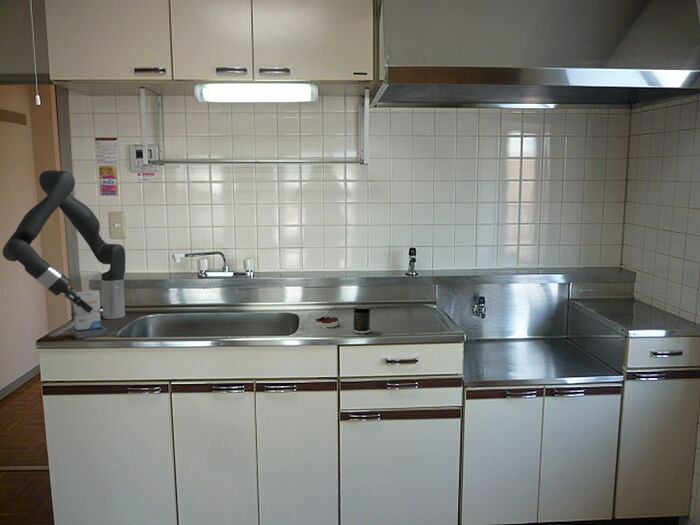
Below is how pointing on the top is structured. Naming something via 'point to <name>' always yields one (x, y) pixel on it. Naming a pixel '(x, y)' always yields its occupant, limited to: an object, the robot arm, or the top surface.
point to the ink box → (83, 317)
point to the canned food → (326, 320)
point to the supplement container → (361, 318)
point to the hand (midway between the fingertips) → (90, 309)
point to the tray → (89, 332)
